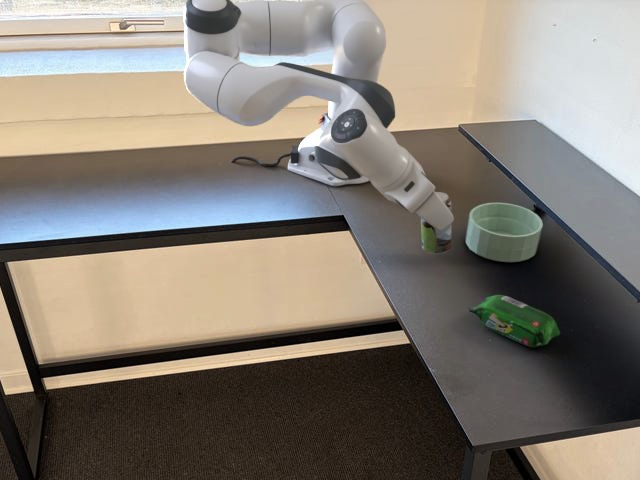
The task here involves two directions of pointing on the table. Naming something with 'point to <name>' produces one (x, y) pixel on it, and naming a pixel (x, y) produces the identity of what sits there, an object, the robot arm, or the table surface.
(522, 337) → the snack package
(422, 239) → the beverage can
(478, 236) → the bowl
